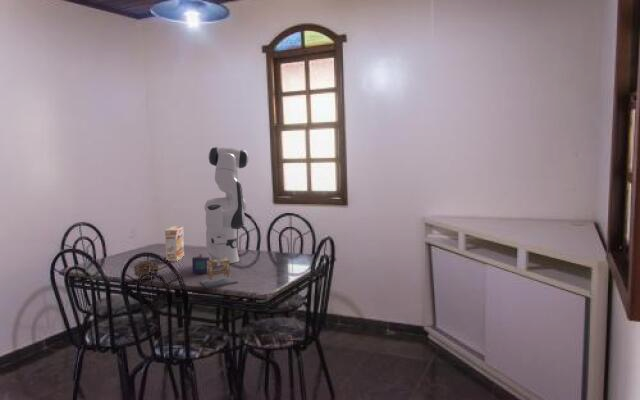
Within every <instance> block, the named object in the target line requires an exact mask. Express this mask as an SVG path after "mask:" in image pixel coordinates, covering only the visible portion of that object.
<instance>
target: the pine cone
mask: <svg viewBox="0 0 640 400" xmlns="http://www.w3.org/2000/svg"><path fill="white" fill-rule="evenodd" d="M149 262H150V269H151V272H154V273H156V274H157V275H158V273H159V271H160V270H161V271H162V270H164V269H166V268H168V267H167V266H166V265H167V264H165V265H163V266H161V267H159V265H157V264H156V262H153V261H148V260H147V259H146V260H144V261H143V260H141V261H140V262H138V263H136V264H135V265H134V266H133V272H134V274H133V275H134V276H137V278H140V276H141V275H143V274H145V273H147V272H149ZM143 279H146V280H147V279H151V277H150V276H146V277H144V278H143ZM143 279H142V280H143Z"/></svg>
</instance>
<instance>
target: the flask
mask: <svg viewBox="0 0 640 400" xmlns="http://www.w3.org/2000/svg"><path fill="white" fill-rule="evenodd" d="M207 261H209V257H207V256H203V253H199V255H198V256H196V255H195V256H193V257H192V261H191V262H192V274H194V275H195V274H197V275H200V274H201V275H202V274H203V275H204V274H207Z"/></svg>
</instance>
